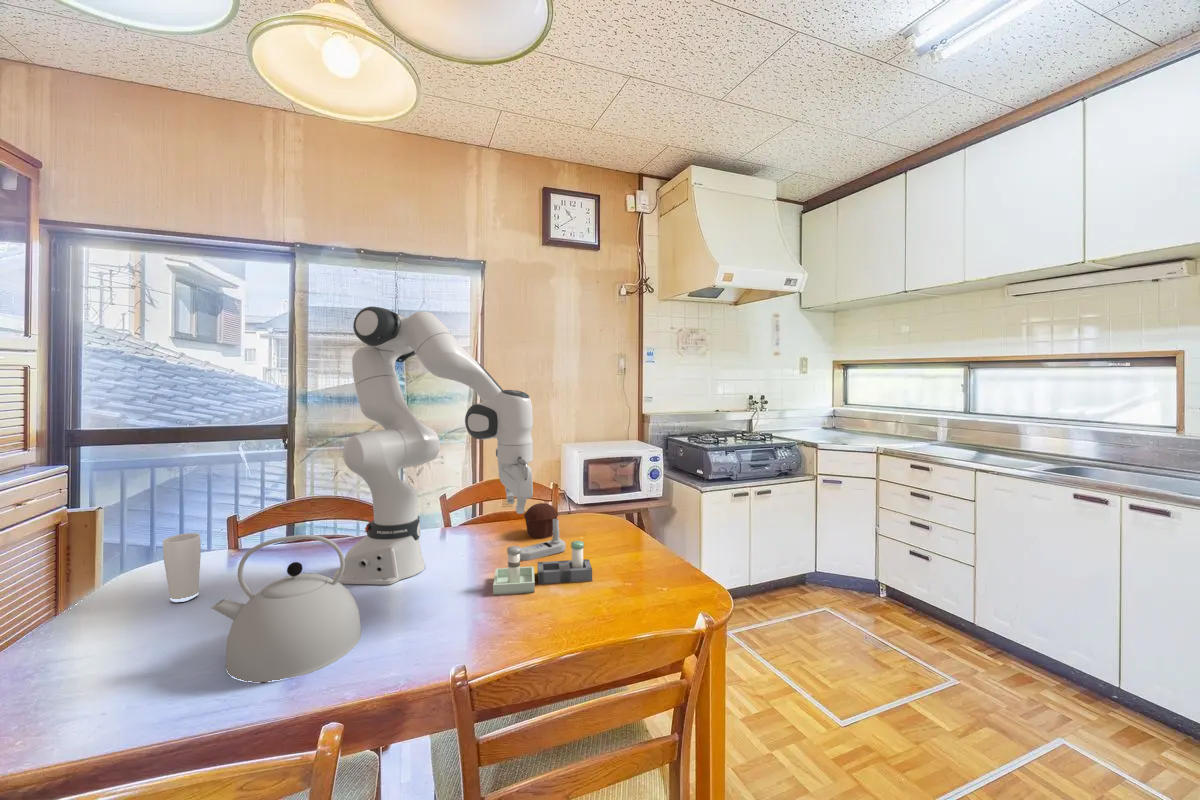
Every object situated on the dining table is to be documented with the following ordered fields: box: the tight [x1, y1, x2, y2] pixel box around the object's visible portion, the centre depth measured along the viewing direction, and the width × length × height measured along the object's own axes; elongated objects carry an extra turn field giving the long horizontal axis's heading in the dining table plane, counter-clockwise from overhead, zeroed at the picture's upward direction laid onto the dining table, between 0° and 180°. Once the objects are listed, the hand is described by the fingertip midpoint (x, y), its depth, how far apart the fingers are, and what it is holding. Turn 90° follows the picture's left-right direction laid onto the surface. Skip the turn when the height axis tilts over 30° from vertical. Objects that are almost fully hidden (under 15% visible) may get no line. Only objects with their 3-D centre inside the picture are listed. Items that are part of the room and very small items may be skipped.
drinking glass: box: [162, 532, 202, 599], centre depth 115 cm, size 7×7×15 cm
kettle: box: [210, 534, 362, 682], centre depth 95 cm, size 25×23×22 cm
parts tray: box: [492, 565, 536, 596], centre depth 123 cm, size 10×10×2 cm
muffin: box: [523, 502, 559, 539], centre depth 162 cm, size 12×11×10 cm
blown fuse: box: [506, 545, 522, 583], centre depth 123 cm, size 3×3×9 cm
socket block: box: [537, 558, 593, 585], centre depth 128 cm, size 14×7×3 cm, turn 99°
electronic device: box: [520, 518, 566, 561], centre depth 144 cm, size 5×10×15 cm
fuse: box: [570, 540, 585, 569], centre depth 129 cm, size 3×3×9 cm
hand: (515, 507), depth 123 cm, fingers open, 8 cm apart
